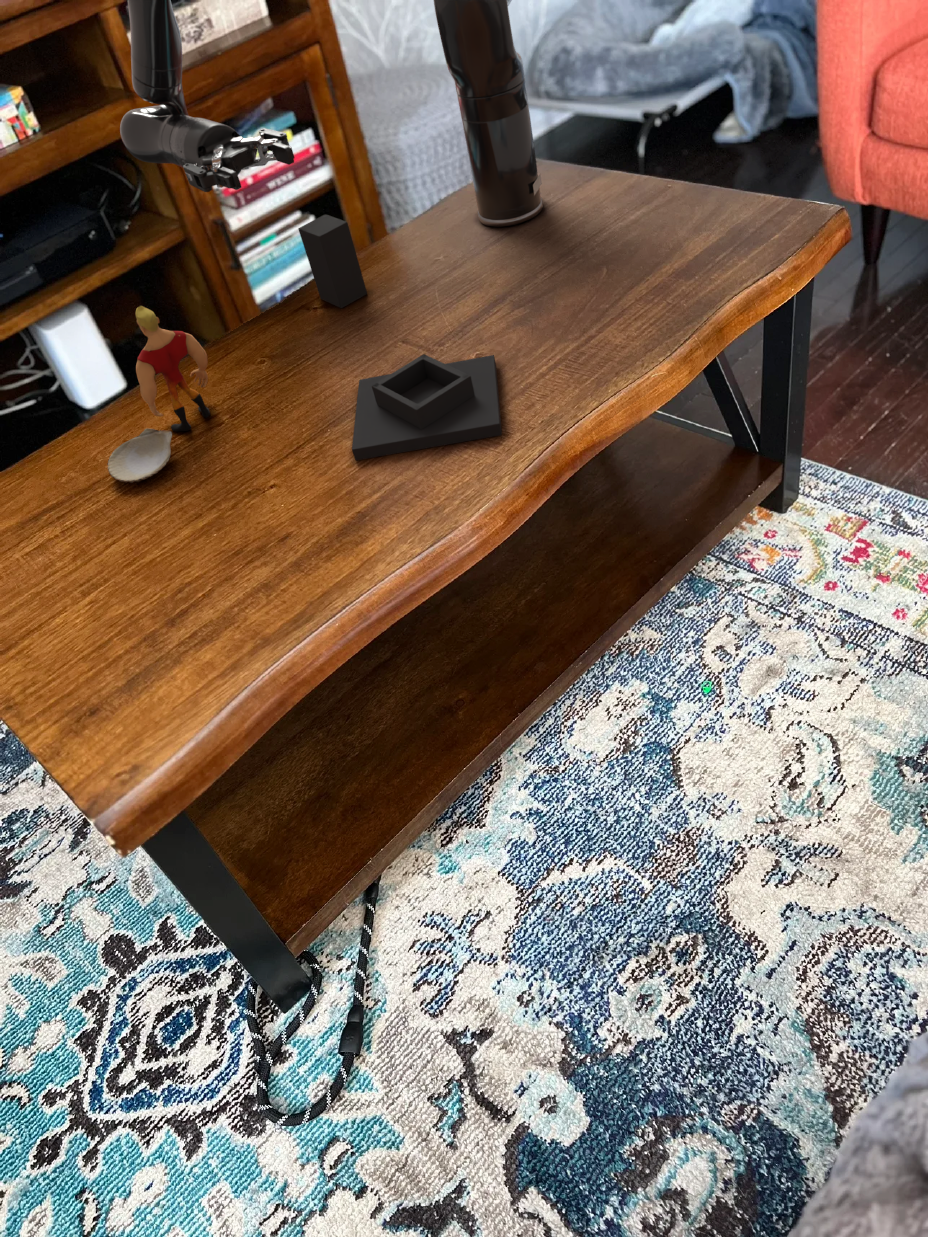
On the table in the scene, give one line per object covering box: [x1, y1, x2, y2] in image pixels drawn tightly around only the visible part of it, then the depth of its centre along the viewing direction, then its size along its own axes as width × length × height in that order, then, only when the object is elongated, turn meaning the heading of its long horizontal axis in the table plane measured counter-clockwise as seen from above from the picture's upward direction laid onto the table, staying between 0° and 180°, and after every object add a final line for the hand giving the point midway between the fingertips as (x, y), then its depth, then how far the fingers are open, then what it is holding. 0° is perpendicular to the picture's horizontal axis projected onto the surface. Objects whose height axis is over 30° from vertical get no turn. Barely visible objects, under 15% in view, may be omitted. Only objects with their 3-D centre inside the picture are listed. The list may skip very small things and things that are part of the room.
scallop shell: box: [106, 428, 173, 483], centre depth 109 cm, size 8×3×8 cm
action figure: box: [135, 305, 211, 432], centre depth 110 cm, size 10×4×15 cm, turn 139°
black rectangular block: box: [297, 214, 368, 309], centre depth 128 cm, size 5×4×10 cm
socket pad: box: [351, 353, 503, 461], centre depth 106 cm, size 14×16×4 cm
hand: (264, 168), depth 127 cm, fingers open, 8 cm apart
